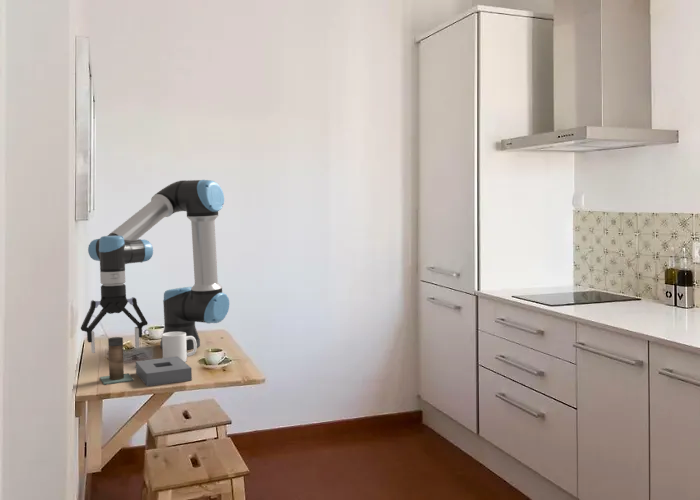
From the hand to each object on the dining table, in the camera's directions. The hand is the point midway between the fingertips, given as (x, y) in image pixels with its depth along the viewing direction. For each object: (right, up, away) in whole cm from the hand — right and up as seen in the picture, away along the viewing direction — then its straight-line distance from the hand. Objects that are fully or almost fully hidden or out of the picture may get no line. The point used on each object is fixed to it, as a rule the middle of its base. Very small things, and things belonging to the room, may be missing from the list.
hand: (115, 349), depth 220 cm
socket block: (+14, -9, +4) cm, 17 cm away
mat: (0, -10, +1) cm, 10 cm away
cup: (+15, -8, +24) cm, 29 cm away
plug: (0, -9, +1) cm, 9 cm away
